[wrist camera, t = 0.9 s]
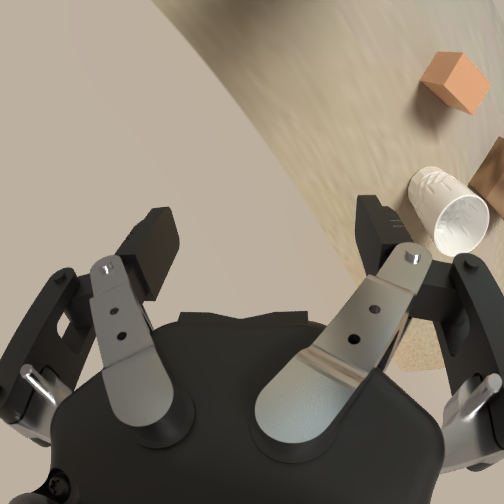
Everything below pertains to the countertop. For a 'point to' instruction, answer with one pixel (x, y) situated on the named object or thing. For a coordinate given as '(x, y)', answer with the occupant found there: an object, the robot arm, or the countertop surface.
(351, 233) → the countertop surface
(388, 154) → the countertop surface
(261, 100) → the countertop surface
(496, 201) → the walnut block
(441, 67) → the terracotta block
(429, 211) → the white cup
